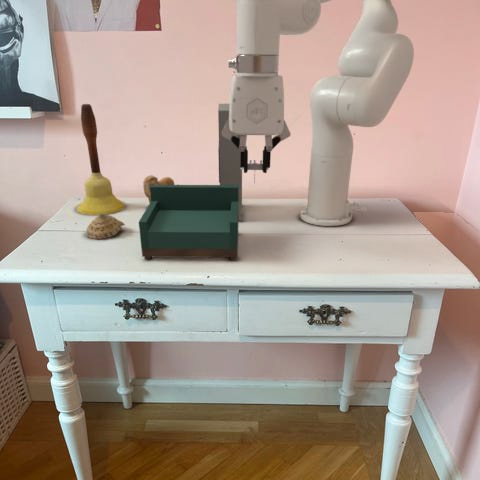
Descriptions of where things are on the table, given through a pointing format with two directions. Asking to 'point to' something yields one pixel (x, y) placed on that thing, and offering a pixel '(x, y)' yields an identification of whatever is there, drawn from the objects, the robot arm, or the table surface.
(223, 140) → the tall grey pillar
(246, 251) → the table surface
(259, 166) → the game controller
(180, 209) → the sofa
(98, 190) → the handbell
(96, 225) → the seashell
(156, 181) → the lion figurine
